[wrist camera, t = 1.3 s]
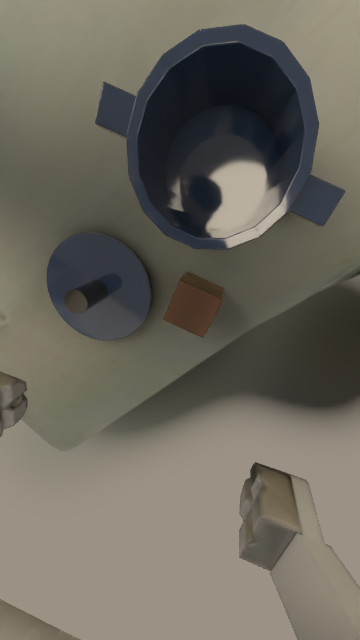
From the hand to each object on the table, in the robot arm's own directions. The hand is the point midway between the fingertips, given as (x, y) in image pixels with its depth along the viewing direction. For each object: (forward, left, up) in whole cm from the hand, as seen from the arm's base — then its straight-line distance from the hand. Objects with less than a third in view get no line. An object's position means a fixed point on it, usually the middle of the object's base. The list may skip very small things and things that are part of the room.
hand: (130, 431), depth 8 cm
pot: (-3, +10, -21) cm, 24 cm away
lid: (-11, -6, -21) cm, 24 cm away
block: (0, -2, -22) cm, 21 cm away
